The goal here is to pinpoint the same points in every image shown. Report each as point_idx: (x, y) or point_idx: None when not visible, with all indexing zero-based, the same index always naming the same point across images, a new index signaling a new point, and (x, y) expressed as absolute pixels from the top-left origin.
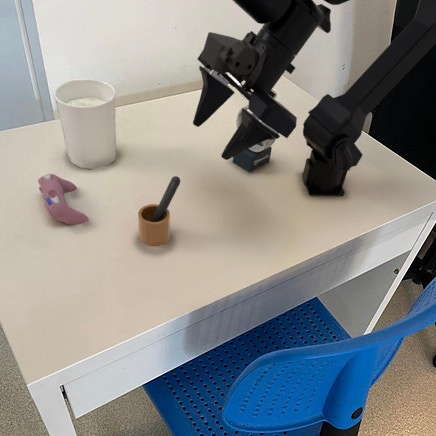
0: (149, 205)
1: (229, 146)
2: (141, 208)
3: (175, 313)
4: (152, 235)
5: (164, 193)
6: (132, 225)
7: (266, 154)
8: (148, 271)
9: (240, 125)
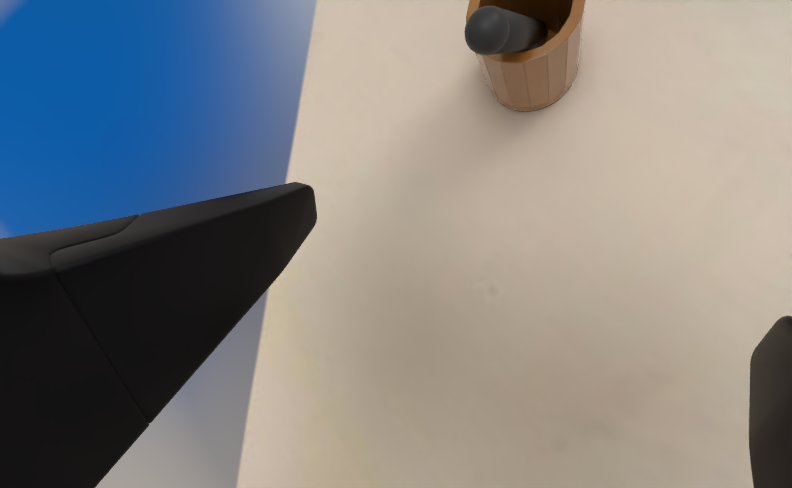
0: (576, 13)
1: (225, 198)
2: None
3: (321, 2)
4: None
5: (516, 14)
6: (646, 46)
7: None
8: (450, 4)
9: (53, 264)
